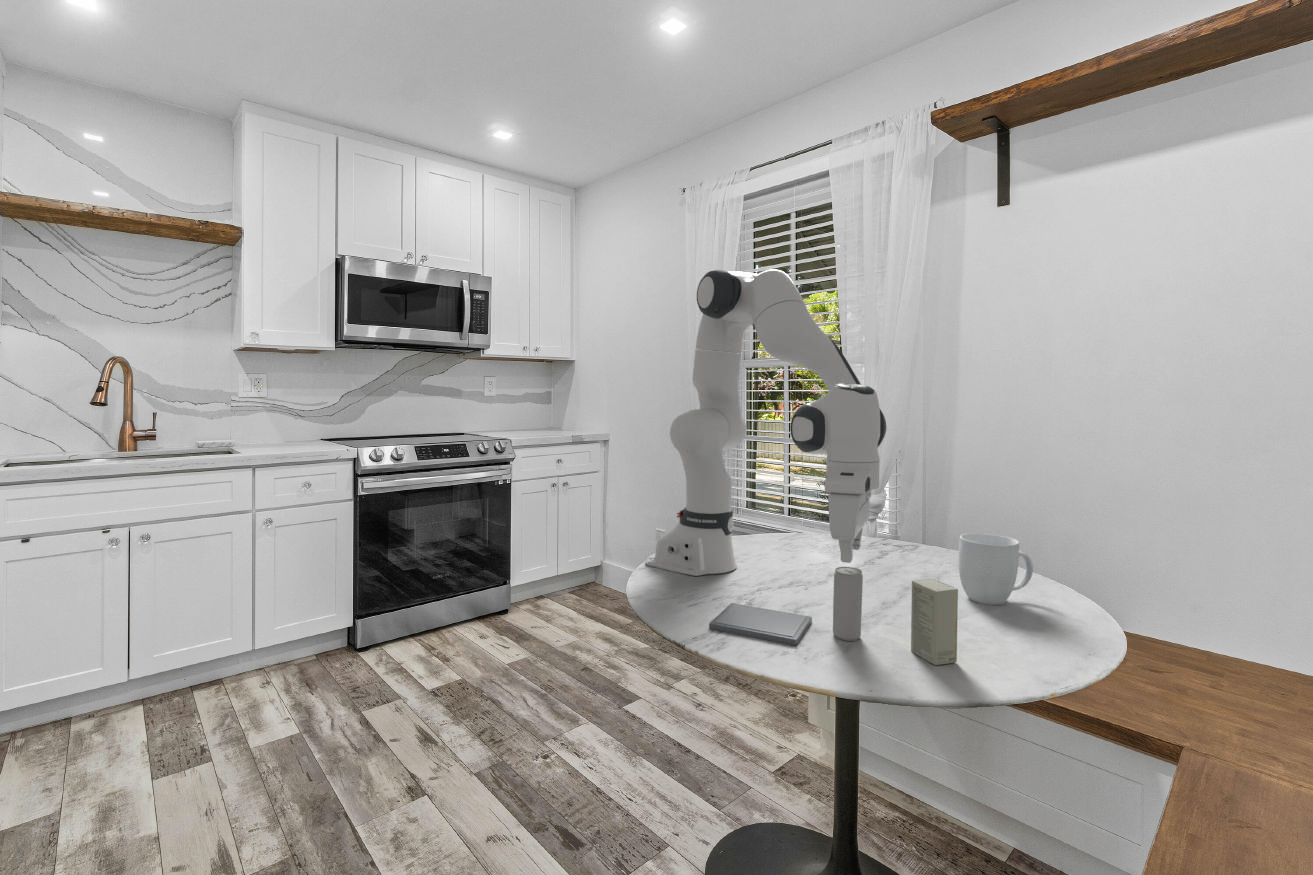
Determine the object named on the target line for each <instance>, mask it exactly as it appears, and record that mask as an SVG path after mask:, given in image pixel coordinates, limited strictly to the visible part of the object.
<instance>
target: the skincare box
mask: <svg viewBox="0 0 1313 875" xmlns="http://www.w3.org/2000/svg"><path fill="white" fill-rule="evenodd" d="M958 598H959V589H958V588H957V587H954V586H953V585H949V584H946V583H945V582H942V581H939V580H937V579H934V578H927V579H916V580H911V613H910V615H911V616H910V617H911V623H910V626H911V627H910V628H911V629H910V633H911V634H910V651H911V652H913V654H915V655H917V656H918V657H920V658H922V659H924V660H925V661H927V662H929V663H930V664H932V665H934V666H939V665H941V666H942V665H948V664H949V665H950V664H954V663H957V660H958V614H959V613H958V606H959V605H958V603H959V599H958Z"/></svg>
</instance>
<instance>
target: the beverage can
mask: <svg viewBox="0 0 1313 875" xmlns="http://www.w3.org/2000/svg"><path fill="white" fill-rule="evenodd" d="M862 573H863V571H862V570H861V569H858V568H856V567H852V566H838V567H835V569H834V573H833V596H832V598H833V599H832V601H833V603H832V609H833V610H832V633H833V635H834V636H835V638H836V639H838V640H841V641H845V642H847V641H848V642H853V641H857V640H858V639H859V638H861V635H862V613H863V610H862V609H863V608H862V606H863V586H864V585H863V580H864V579H863V578H864V577H863V574H862Z"/></svg>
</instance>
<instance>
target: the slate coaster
mask: <svg viewBox="0 0 1313 875" xmlns="http://www.w3.org/2000/svg"><path fill="white" fill-rule="evenodd" d="M812 619H813V617H812V616H811V615H810V616H809V615H803V614H798V613H791V612H785V611H780V610H775V609H774V610H773V609H769V608H761V607H757V606H750V605H746V604H745V605H744V604H740V603H732V602H731V603H730V604H728V605H727V606H726V607H725V608H724V609H723V610H722V611H721V612H720V613H719V614H718V615H717V616H715V617H714V618H713V619H712V620H711V621H710V622H709V623H708V625H709V626H708V628H709V630H715V631H719V632H725V633H731V634H735V635H736V634H737V635H741V636H746V637H750V638H751V637H752V638H757V639H761V640H766V641H767V640H768V641H770V642H771V641H772V642H778V643H782V644H788V645H792V646H797V645H798V644H799V642H800V641H801V639H802V637H803V636H804V634H805V632H806V631H807V630H808V628H809V627H810V625H811V623H812V621H813V620H812Z"/></svg>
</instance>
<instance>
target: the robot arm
mask: <svg viewBox="0 0 1313 875" xmlns="http://www.w3.org/2000/svg"><path fill="white" fill-rule="evenodd" d="M696 303H697V305H698V308H699V311H700V312H701V313H702V316H701V319H700V323H699V327H698V332H697V335H696V342H695V350H694V360H693V370H692V383H693V386H694V388H695V389H696V392H697V395H698V400H699V408H697V409H690V410H688V411H685V412H684V413H683V412H682V413H681V414H679V415H678V416H677V417H676V418H674V420H673V421H672V422H671V426H670V427H669V428H670V430H669V437H670V440H671V444H672V446H673V447H674V448H675V449H676V451H677V452H678V454H679V456H680V459H681V461H682V464H683V465H682V466H683V470H684V474H685V484H686V485H685V488H686V490H685V492H686V494H685V495H686V499H685V501H686V502H685V504H686V507H684V508H683V509H682V510H679V512H677V513H676V518H677V519H679V522H678V523H677V524H675V525H674V526H673V527H672V528H670V529H669V530H668V531H667V532H665V533H664V534H663V535H661V536H660V537H659V538H658V540H657V543H656V546H655V547H656V548H655V552H654V553H652V554H650V555H649V556H648V557H647V558H646V562H648V563H647V564H646V565H647V566H649V567H654V568H658V569H663V570H667V571H670V572H676V573H680V574H684V575H689V576H695V577H696V576H703V575H715V574H725V573H729V572H732V571H734V570H735V569H737V567H738V564H737V562H736V558H735V552H734V546H733V535H732V534H733V529H734V513H733V512H734V511H733V509H732V481H733V480H732V478H731V475H730V474H729V473H728V472H727V468H726V465H725V462H724V457H723V452H728V451H731V450H733V449H734V448H736V447H737V446H739V445H740V444H741V443H742V442H743V441H744V439H745V437H746V434H747V424H746V421H745V419H744V418H743V415H742V412H741V404H740V396H739V395H740V394H739V379H740V368H741V360H742V349H743V337H744V333H745V331H746V329H748V328H749V327H750V326H752V327H753V328H754V329H755V333H756V334H757V337H758V338H757V339H758V340H759V342H760V344H761V346H762V347H763V348H764V350H765V351H766V353H768V355H770V356H771V357H773V358H775V359H777V360H779V361H782V362H787V363H789V364H793V365H796V366H798V367H801V368H805V369H806V370H809V371H811V372H812V373H814V374H816V375H817V376H818V377H819V378H820V379H821V380H822V381H823V382H824V385H825V386H826V388H827V390H828V392H827V393H826V394H825V395H823V396H821V397H820V398H818V399H816V400H813V401H812V402H808V403H805V404H804V403H803V404H802V405H800V406H798V408H797V409H796V410H795V412H794V414H793V416H792V417H791V422H790V435H791V438H792V441H793V443H794V445H795V446H796V447H797V449H799V451H801V452H803V453H807V454H812V455H817V454H819V455H820V454H824V455H826V459H825V460H826V461H825V462H826V464H825V465H826V466H825V467H826V469H825V470H826V471H825V472H826V473H825V479H824V492H825V493H828V498H827V500H828V501H827V504H828V520H829V532H830V536H831V539H832V540H837V541H838V544H839V545H838V546H839V550H840V561H841V562H842V563H847V564H850V563H851V562H852V561H853V556H854V550H855V551H859V550H860V549H861V546H862V536H863V530H864V526H865V524H866V523H867V522H868V521H869V518H870V510H871V509H870V503H871V502H870V498H871V497H872V490H877V489H879V488H880V460H881V459H880V455H879V452H878V448H879V447H880V445H881V444H882V443H883V441H884V439H885V436H886V434H887V433H886V432H887V422H886V416H885V415H884V413H883V411H882V410H881V408H880V403H879V398H878V394H877V392H876V390H875V389H874V388H873V387H871V386H868V385H865V384H861V382H860V380H859V379H858V377H857V375H856V374H855V372H854V370H853V368H852V367H851V365H850V363H849V361H848V360H847V359H846V357H845V355H844V354H843V352H842V350H841V349H840V347H839V346H838V345H837V343H836V342H835V341H834V340H833V339H832V338H831V337H830V336H828V335H827V334H826V332H824V331H823V330H822V329H821V328H820V326H819V325H818V324H817V323H816V321H815V320H814V318H813V317H812V315H811V313H810V312H809V310H808V308H807V306H806V303H805V301H804V298H803V297H802V295H801V293H800V291H799V289H798V288H797V285H796V284H795V283H794V282H793V280H792V279H791V277H790V276H789V275H788V274H787V273H785V271H782V270H779V269H767V270H764V271H763V272H760V273H753V272H743V271H728V270H726V269H714V270H710V271H708V272H706V273H705V274H704V275H703V277H702V278H701V279H700V281H699V283H698V285H697V289H696ZM652 559H653V560H652ZM646 562H645V563H646Z"/></svg>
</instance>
